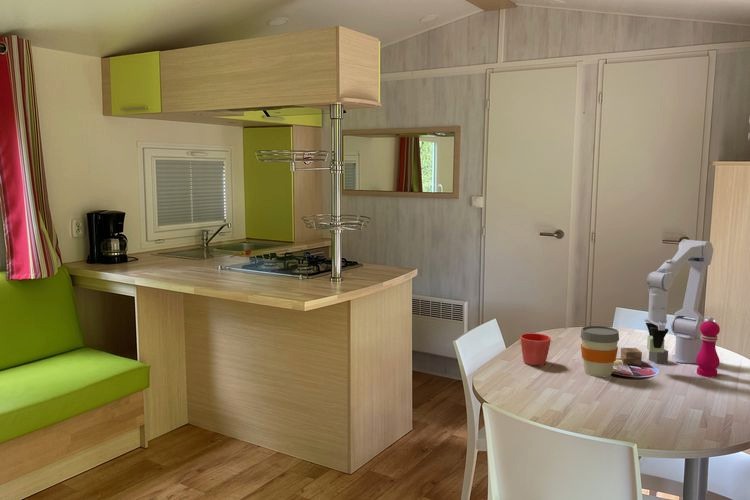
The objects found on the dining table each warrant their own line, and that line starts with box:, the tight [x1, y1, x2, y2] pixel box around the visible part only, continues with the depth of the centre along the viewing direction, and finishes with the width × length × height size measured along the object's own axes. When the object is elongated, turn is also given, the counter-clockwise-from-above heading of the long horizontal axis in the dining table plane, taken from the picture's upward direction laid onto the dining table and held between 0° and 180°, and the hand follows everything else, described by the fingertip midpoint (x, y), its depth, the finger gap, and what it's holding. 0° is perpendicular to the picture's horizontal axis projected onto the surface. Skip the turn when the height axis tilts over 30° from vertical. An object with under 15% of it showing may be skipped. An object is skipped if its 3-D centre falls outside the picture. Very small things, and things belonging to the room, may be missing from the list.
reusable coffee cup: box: [580, 325, 620, 378], centre depth 219 cm, size 13×13×15 cm
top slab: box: [620, 347, 643, 360], centre depth 230 cm, size 6×6×2 cm
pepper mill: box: [695, 316, 721, 378], centre depth 216 cm, size 7×7×20 cm
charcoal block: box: [648, 348, 669, 365], centre depth 231 cm, size 4×4×4 cm
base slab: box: [620, 354, 642, 366], centre depth 231 cm, size 6×6×2 cm
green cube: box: [646, 335, 665, 353], centre depth 218 cm, size 4×4×4 cm
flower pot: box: [520, 332, 552, 366], centre depth 230 cm, size 11×11×10 cm
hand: (655, 345), depth 219 cm, fingers closed on green cube, 4 cm apart
